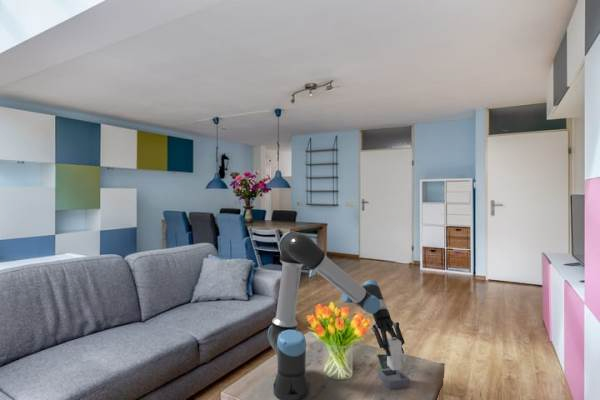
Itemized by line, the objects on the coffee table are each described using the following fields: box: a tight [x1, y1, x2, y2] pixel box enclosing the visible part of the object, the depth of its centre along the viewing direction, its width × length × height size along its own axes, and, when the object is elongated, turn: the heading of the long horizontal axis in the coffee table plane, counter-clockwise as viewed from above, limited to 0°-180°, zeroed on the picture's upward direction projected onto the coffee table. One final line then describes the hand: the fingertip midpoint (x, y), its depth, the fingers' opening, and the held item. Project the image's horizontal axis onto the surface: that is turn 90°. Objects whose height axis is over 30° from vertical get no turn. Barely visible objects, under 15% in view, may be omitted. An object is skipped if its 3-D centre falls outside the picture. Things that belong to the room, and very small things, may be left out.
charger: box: [387, 337, 402, 370], centre depth 155 cm, size 4×5×13 cm
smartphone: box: [376, 353, 390, 370], centre depth 172 cm, size 8×1×15 cm
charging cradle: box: [377, 368, 410, 390], centre depth 155 cm, size 9×10×3 cm
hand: (398, 362), depth 151 cm, fingers closed on charger, 4 cm apart
